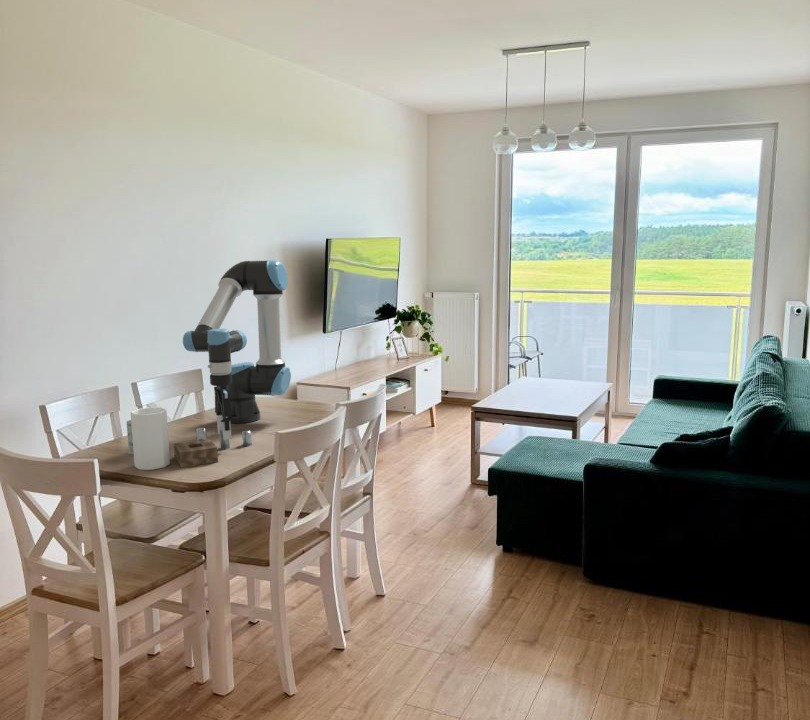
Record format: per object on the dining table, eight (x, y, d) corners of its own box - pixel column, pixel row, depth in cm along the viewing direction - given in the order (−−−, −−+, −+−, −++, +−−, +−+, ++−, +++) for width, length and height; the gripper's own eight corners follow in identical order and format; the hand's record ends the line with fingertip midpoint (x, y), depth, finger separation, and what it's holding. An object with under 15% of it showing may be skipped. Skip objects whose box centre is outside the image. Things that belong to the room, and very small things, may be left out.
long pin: (228, 446, 269) (226, 413, 267) (230, 448, 266) (228, 415, 264) (219, 447, 267) (217, 414, 265) (221, 449, 264) (219, 416, 263)
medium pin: (206, 449, 265) (204, 427, 264) (207, 451, 262) (206, 429, 261) (196, 450, 264) (195, 428, 263) (198, 452, 261) (197, 430, 260)
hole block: (210, 452, 260) (209, 439, 260) (218, 461, 250) (217, 447, 249) (175, 457, 255) (174, 443, 254) (181, 467, 245) (180, 452, 244)
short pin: (250, 443, 272) (249, 429, 271) (252, 445, 269) (252, 431, 269) (241, 444, 271) (241, 430, 270) (244, 446, 268) (243, 432, 267)
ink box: (157, 452, 262) (155, 419, 261) (147, 456, 258) (144, 422, 256) (138, 450, 266) (135, 417, 264) (128, 453, 262) (125, 420, 260)
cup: (154, 458, 255) (150, 405, 252) (177, 463, 249) (173, 409, 246) (127, 467, 246) (122, 412, 243) (150, 472, 240) (146, 416, 237)
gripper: (203, 369, 270) (207, 431, 274) (216, 379, 251) (220, 444, 255) (224, 367, 273) (228, 428, 277) (238, 376, 255) (242, 441, 258)
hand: (224, 436), depth 266 cm, fingers open, 8 cm apart
